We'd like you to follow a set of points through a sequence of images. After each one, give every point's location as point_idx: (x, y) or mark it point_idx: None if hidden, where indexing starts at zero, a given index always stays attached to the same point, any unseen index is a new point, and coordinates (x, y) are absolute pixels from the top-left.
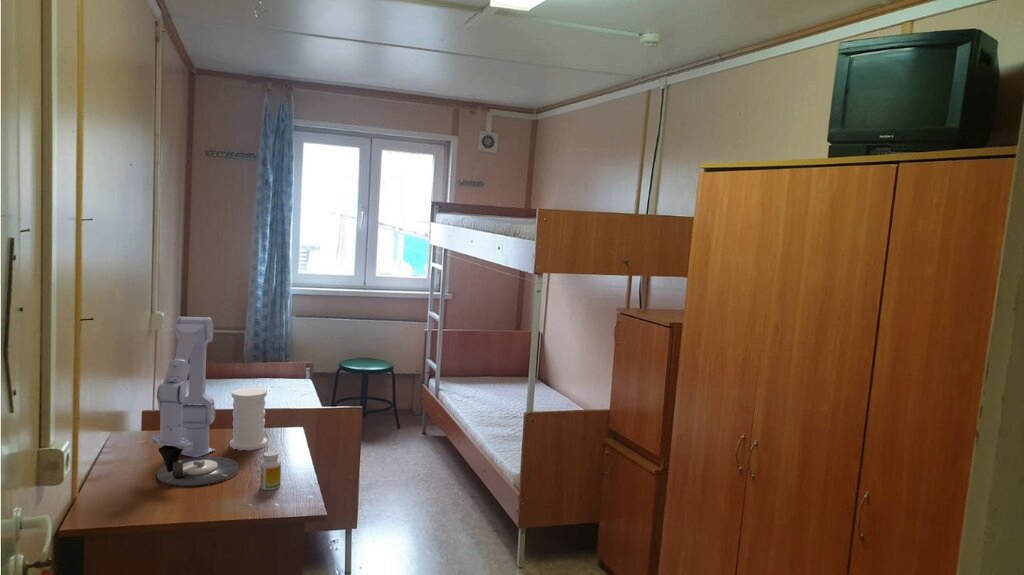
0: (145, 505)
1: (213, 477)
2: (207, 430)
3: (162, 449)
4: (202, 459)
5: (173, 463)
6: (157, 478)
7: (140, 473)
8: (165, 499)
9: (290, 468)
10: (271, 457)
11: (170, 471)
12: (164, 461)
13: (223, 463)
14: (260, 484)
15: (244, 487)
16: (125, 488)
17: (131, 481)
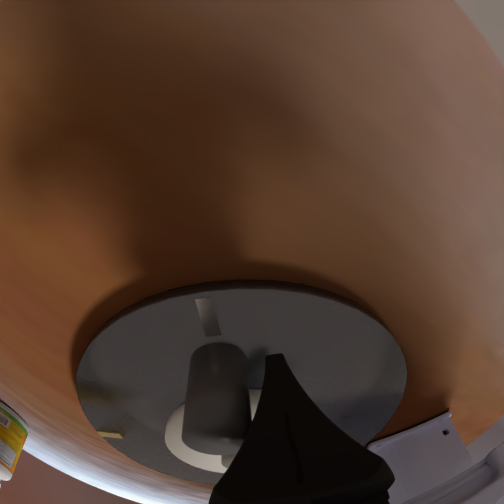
0: (27, 56)
1: (109, 414)
2: None
3: (331, 497)
4: None
5: (218, 416)
6: (338, 295)
7: (453, 275)
8: (20, 163)
9: (105, 483)
10: None
11: (265, 363)
12: (309, 400)
13: None
14: (2, 411)
15: (20, 397)
16: (358, 91)
17: (420, 185)
